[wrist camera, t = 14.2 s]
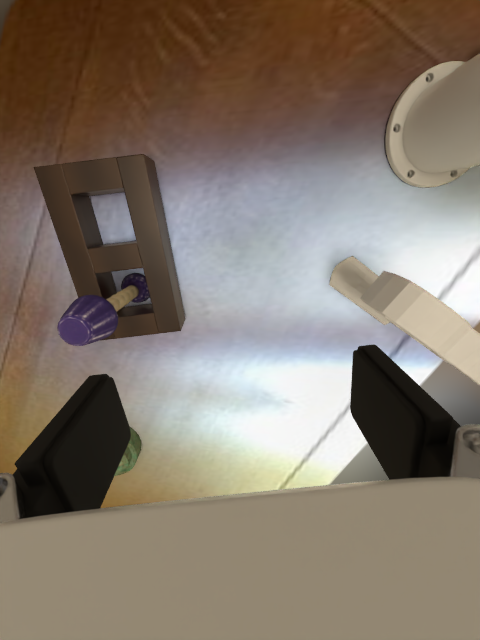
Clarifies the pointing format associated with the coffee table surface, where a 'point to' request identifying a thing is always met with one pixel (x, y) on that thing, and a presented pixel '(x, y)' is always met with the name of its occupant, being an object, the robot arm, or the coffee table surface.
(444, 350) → the heart sculpture
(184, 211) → the coffee table surface
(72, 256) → the frame
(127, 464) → the decorative artifact
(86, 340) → the toy lamp
